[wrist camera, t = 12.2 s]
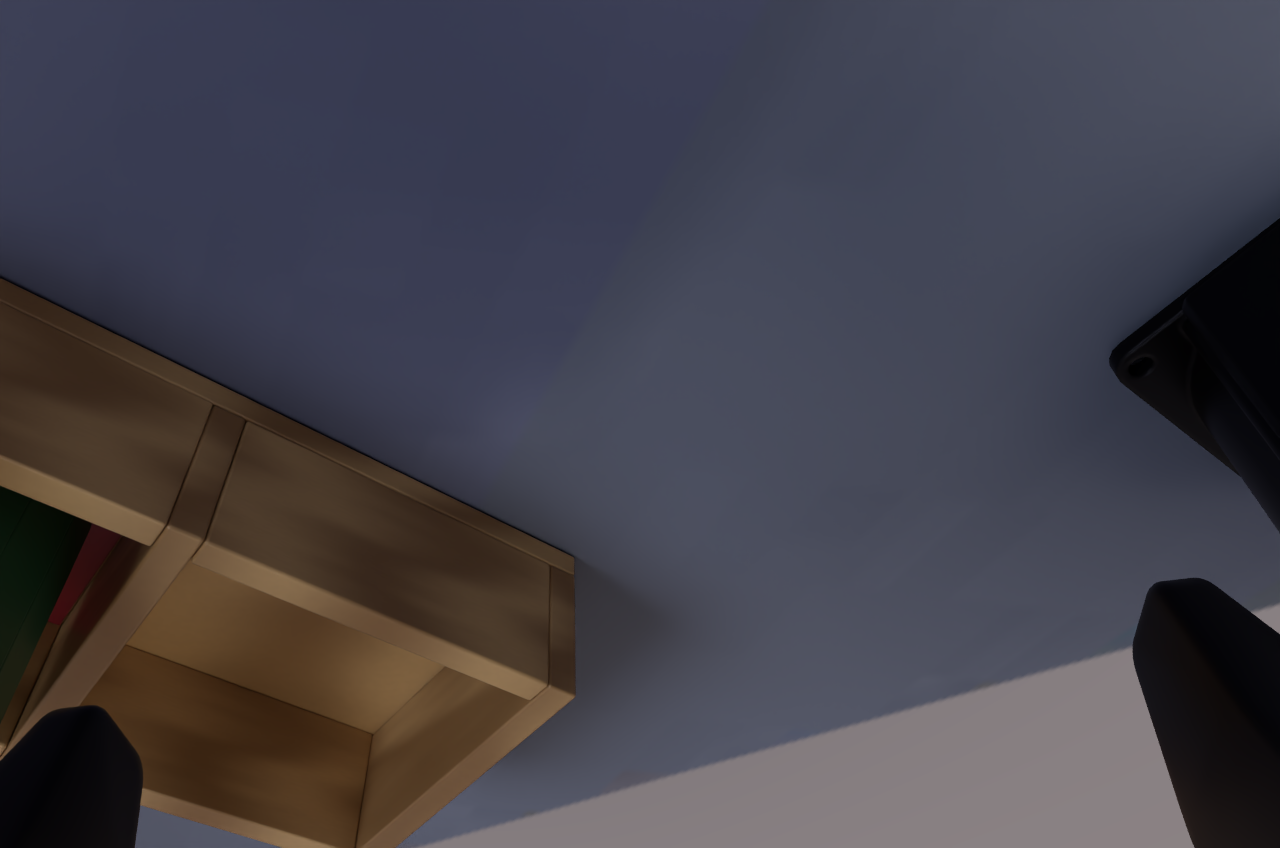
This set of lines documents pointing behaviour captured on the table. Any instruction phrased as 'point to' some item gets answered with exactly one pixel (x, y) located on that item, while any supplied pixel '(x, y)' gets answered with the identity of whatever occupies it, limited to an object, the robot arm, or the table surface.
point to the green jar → (30, 577)
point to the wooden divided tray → (268, 599)
